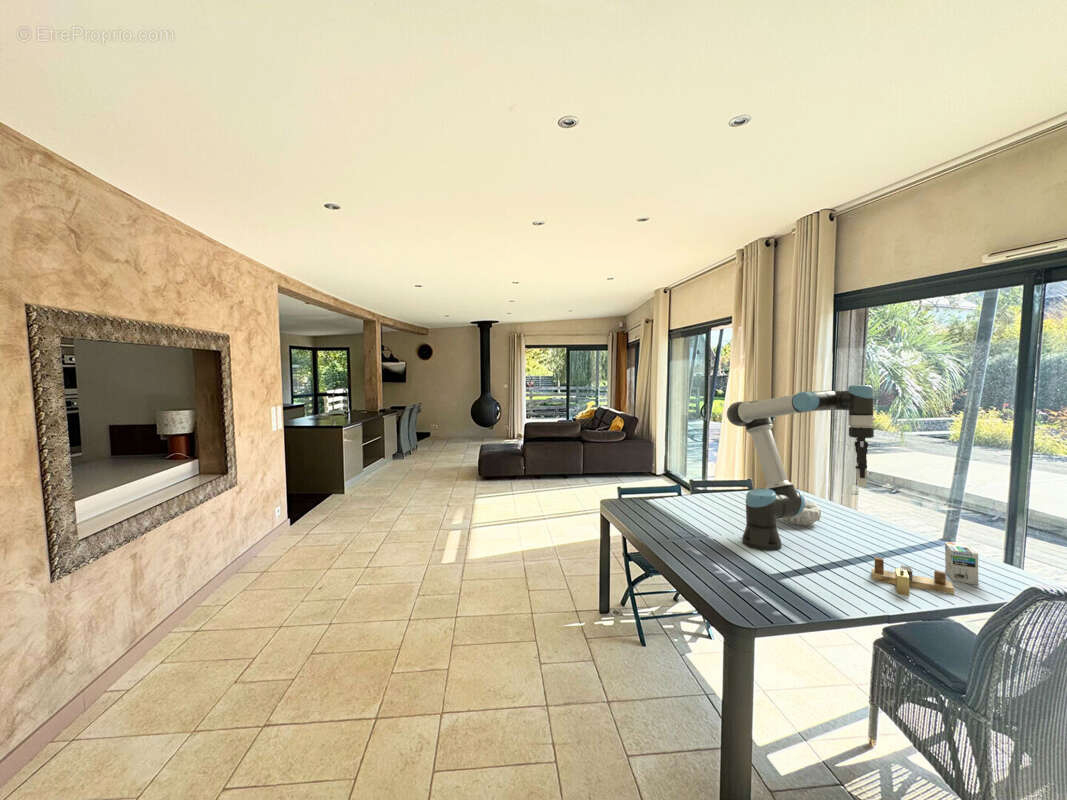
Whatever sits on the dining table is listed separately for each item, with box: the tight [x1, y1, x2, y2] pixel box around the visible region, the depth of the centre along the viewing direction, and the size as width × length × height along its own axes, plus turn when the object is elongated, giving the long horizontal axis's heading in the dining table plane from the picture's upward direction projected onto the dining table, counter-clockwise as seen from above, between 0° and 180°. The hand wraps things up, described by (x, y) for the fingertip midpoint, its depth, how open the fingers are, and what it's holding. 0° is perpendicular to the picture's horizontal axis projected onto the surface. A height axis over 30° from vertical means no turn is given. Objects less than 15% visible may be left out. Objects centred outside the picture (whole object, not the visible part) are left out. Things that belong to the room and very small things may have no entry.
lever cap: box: [894, 567, 910, 597], centre depth 147 cm, size 3×7×7 cm, turn 145°
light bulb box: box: [944, 541, 979, 586], centre depth 155 cm, size 11×7×11 cm, turn 148°
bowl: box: [781, 501, 822, 526], centre depth 220 cm, size 21×20×10 cm
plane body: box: [871, 556, 955, 595], centre depth 152 cm, size 21×6×7 cm, turn 55°
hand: (861, 483), depth 165 cm, fingers open, 13 cm apart
